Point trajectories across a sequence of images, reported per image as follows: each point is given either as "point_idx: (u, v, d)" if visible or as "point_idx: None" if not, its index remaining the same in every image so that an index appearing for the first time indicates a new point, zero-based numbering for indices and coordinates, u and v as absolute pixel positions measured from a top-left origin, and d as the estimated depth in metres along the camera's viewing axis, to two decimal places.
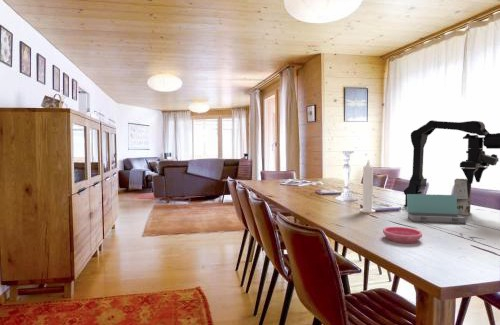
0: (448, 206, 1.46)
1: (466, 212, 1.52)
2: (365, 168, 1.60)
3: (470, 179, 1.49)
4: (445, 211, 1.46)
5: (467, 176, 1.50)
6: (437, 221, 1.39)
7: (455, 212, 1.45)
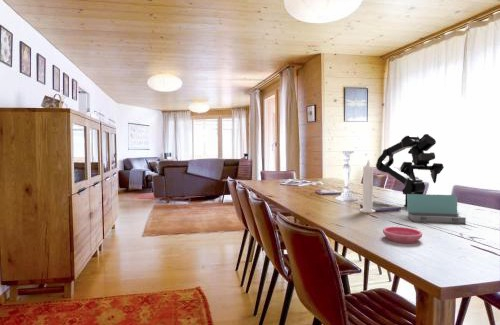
0: (448, 206, 1.46)
1: None
2: (365, 168, 1.60)
3: (413, 178, 1.62)
4: (445, 211, 1.46)
5: (410, 177, 1.64)
6: (437, 221, 1.39)
7: (455, 212, 1.45)
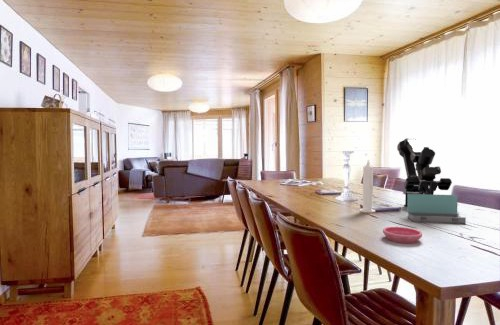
0: (448, 206, 1.45)
1: None
2: (365, 168, 1.60)
3: None
4: (445, 211, 1.45)
5: None
6: (437, 221, 1.39)
7: (455, 212, 1.45)
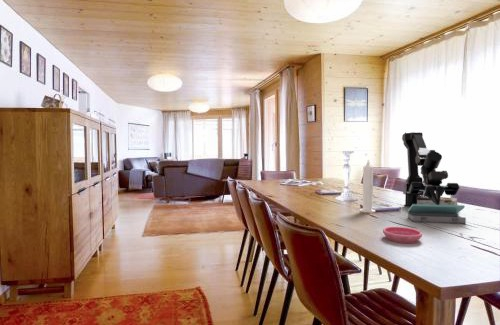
0: (451, 211, 1.43)
1: (451, 202, 1.55)
2: (365, 168, 1.60)
3: (434, 201, 1.41)
4: (446, 212, 1.45)
5: (432, 199, 1.43)
6: (437, 221, 1.39)
7: (455, 213, 1.44)
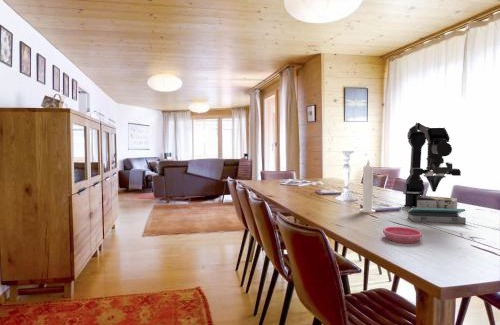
0: (451, 212, 1.42)
1: (451, 202, 1.55)
2: (365, 168, 1.60)
3: (432, 187, 1.45)
4: None
5: (430, 183, 1.46)
6: (437, 221, 1.39)
7: (456, 213, 1.44)
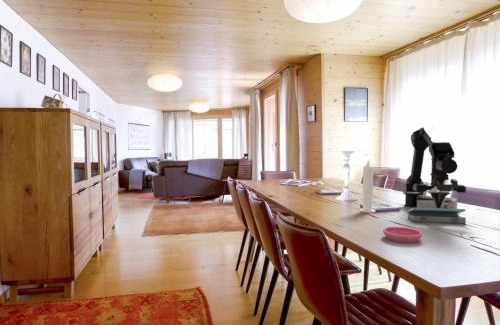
0: (451, 212, 1.42)
1: (451, 202, 1.55)
2: (365, 168, 1.60)
3: (436, 203, 1.40)
4: None
5: (434, 200, 1.41)
6: (437, 221, 1.39)
7: (456, 213, 1.44)
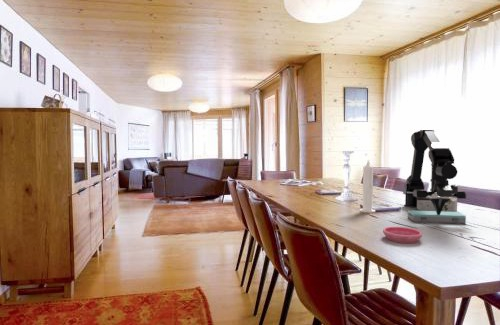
0: None
1: (451, 202, 1.55)
2: (365, 168, 1.60)
3: (436, 209, 1.40)
4: None
5: (434, 206, 1.41)
6: (437, 221, 1.39)
7: None
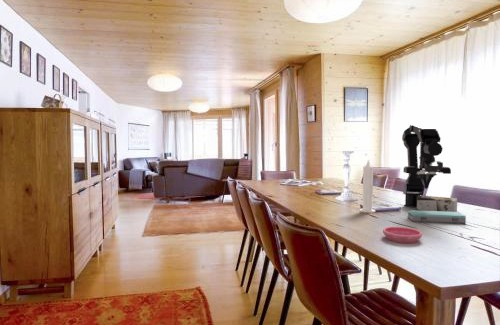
0: None
1: (451, 202, 1.55)
2: (365, 168, 1.60)
3: (424, 184, 1.55)
4: None
5: (422, 181, 1.56)
6: (437, 221, 1.39)
7: None
